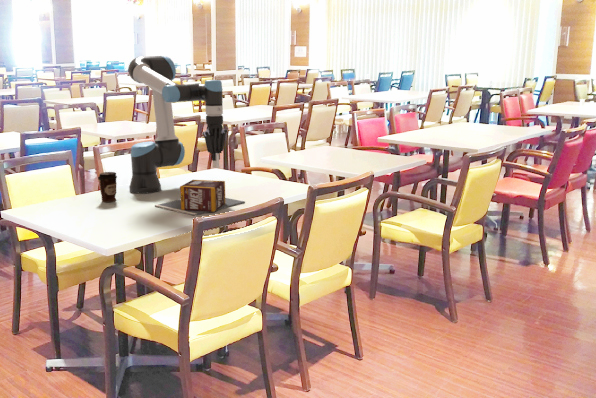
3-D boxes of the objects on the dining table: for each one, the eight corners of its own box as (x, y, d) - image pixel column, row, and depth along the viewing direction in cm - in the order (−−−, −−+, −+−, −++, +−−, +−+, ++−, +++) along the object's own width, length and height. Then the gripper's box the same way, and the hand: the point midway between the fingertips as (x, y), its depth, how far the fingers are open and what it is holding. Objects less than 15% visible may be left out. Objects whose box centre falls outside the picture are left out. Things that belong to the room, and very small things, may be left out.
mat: (154, 206, 284) (154, 205, 284) (205, 195, 307) (205, 193, 307) (194, 215, 268) (194, 214, 268) (244, 202, 291) (244, 201, 291)
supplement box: (226, 203, 287) (214, 212, 272) (193, 201, 290) (180, 210, 275) (225, 180, 285) (214, 188, 270) (192, 179, 288) (179, 186, 273)
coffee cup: (123, 200, 297) (121, 172, 294) (110, 203, 290) (108, 175, 287) (108, 198, 301) (106, 170, 298) (95, 202, 293) (93, 173, 290)
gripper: (209, 116, 279) (210, 170, 285) (230, 114, 289) (232, 166, 294) (197, 115, 284) (199, 168, 289) (219, 113, 294) (221, 164, 299)
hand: (216, 167), depth 292 cm, fingers closed
